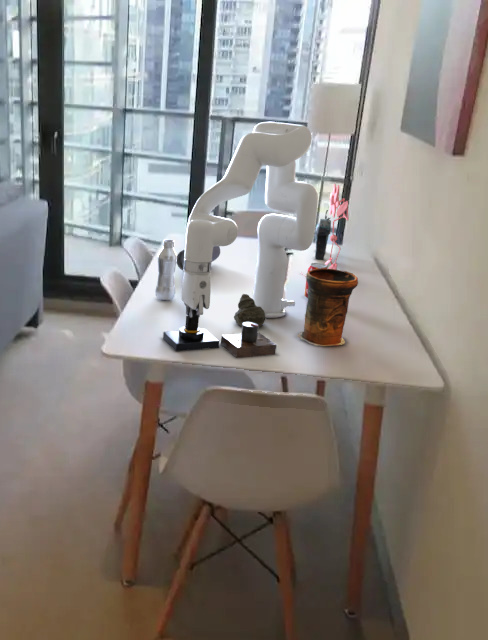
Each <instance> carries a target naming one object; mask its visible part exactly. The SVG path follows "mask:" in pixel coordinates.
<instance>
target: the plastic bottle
mask: <svg viewBox="0 0 488 640" xmlns="http://www.w3.org/2000/svg"><path fill="white" fill-rule="evenodd" d="M174 247H175V240H173V239H163V240H162V247H161V249H160V250H159V252H158V253H157V272H158V273H157V281H156V286H155V297H156V298H157V299H158V300H161V301H171V300H173V299H174V298H175V296H176V286H175V274H176V267H177V255H178V254H177V252H176V250H175V248H174Z"/></svg>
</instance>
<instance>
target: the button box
mask: <svg viewBox="0 0 488 640" xmlns="http://www.w3.org/2000/svg"><path fill="white" fill-rule="evenodd" d="M198 330H199V332H198V333H188V332H185V326H181V327H179V329H178V330H167V331H163V332H162V333H163V334H162V339H163V340H164V341H165V342H166V343H167V344H168V345H169V347H171V348H172V349H173V350H174V351H175V352H183V351H184V352H185V351H195V350H209V349H210V350H211V349H219V347H220V340H219V339H218V338H217V337H215V335H213V334H212V333H211V332H209V331H208V330H207V329H206V328H201V327H199V326H198Z"/></svg>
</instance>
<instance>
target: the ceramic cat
mask: <svg viewBox="0 0 488 640" xmlns="http://www.w3.org/2000/svg"><path fill="white" fill-rule="evenodd" d="M328 213H329V209H326V211H325V216H324V218H320V219H319V221H318V222H317V223H316V225H315V232H314V238H313V241H315V254H314V258H315V259H314V260H318V261H324V259H325V255H326V251H327V244H328V241H329V238H330V237H329V236H330V235H331V231H332V228H331V227H332V220H331V217H328V216H327V214H328Z"/></svg>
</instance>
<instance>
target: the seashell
mask: <svg viewBox="0 0 488 640" xmlns="http://www.w3.org/2000/svg"><path fill="white" fill-rule="evenodd" d="M252 298H253V297H251V296H250V295H249V294H246V293H243V294H241V297H240V298H239V302H238V303H237V307H238V310H237V311H236V312H235V313H234V315H233V319H234V321H235V324H236V325H238V326H240V327H242V325H243V323H244V322H253V323H257V324H258V325H259V327H258V328H260V327H263V326H264V323H265V322H266V317H265V313H264V310H263V309H262V308H261V307H257V306H256V305H255V302H254V300H253V299H252Z"/></svg>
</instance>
